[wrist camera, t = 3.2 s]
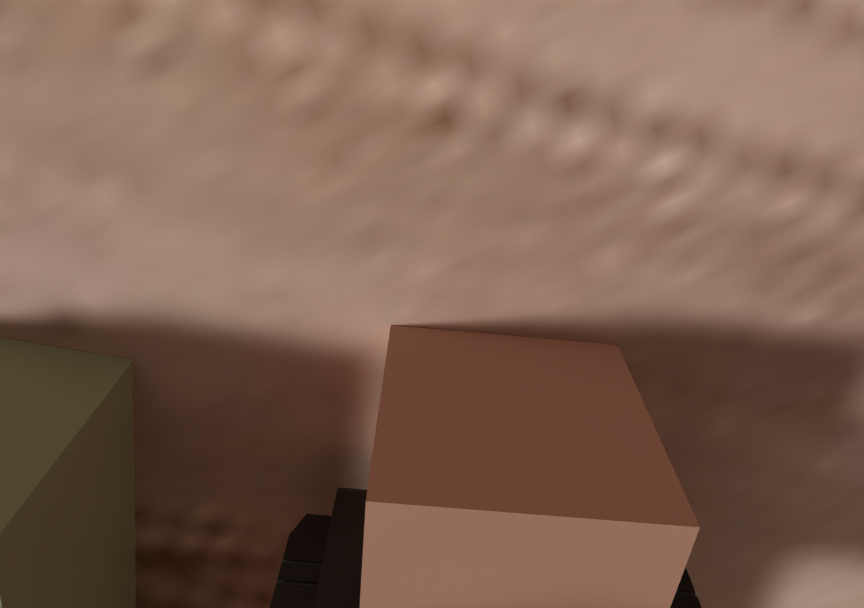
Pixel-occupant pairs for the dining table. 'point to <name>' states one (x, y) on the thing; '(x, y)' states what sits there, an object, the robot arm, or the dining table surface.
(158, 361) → the dining table surface
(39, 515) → the olive brick
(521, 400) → the terracotta brick
